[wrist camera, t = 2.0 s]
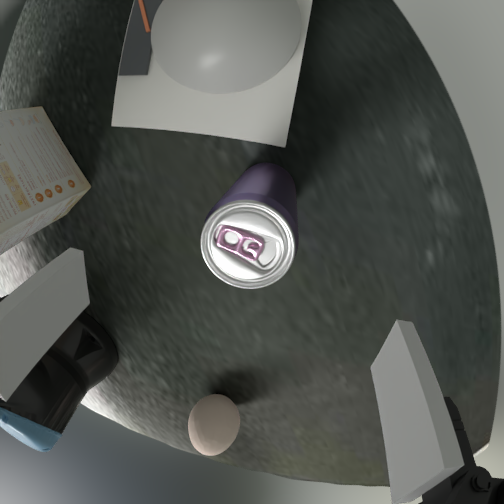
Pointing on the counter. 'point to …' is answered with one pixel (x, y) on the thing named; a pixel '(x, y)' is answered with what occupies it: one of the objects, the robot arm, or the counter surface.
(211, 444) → the egg
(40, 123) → the coffeecake box
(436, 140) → the counter surface
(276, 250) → the beverage can
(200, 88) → the scale
